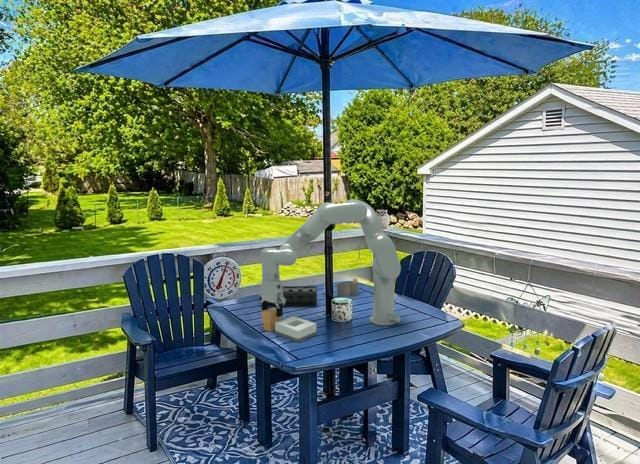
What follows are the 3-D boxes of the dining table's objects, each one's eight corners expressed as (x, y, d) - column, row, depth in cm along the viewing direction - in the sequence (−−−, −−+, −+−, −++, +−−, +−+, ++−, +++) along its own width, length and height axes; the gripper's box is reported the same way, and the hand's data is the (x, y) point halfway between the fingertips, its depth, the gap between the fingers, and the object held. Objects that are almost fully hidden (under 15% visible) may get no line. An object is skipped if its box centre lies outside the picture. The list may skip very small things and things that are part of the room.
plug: (282, 327, 207) (281, 310, 205) (270, 332, 202) (269, 314, 200) (273, 324, 211) (273, 307, 209) (262, 329, 205) (261, 311, 204)
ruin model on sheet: (357, 294, 256) (357, 277, 255) (358, 296, 253) (358, 279, 252) (336, 295, 255) (336, 278, 253) (337, 297, 252) (337, 280, 250)
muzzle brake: (316, 308, 234) (316, 288, 232) (261, 308, 234) (260, 288, 232) (316, 302, 243) (316, 283, 241) (263, 302, 243) (263, 283, 242)
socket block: (316, 334, 198) (316, 323, 197) (298, 342, 190) (298, 330, 189) (293, 326, 208) (293, 316, 207) (275, 333, 200) (275, 322, 199)
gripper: (290, 277, 199) (292, 315, 202) (264, 271, 211) (265, 307, 214) (277, 281, 194) (279, 320, 197) (251, 274, 205) (253, 311, 208)
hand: (272, 313), depth 205 cm, fingers open, 9 cm apart
